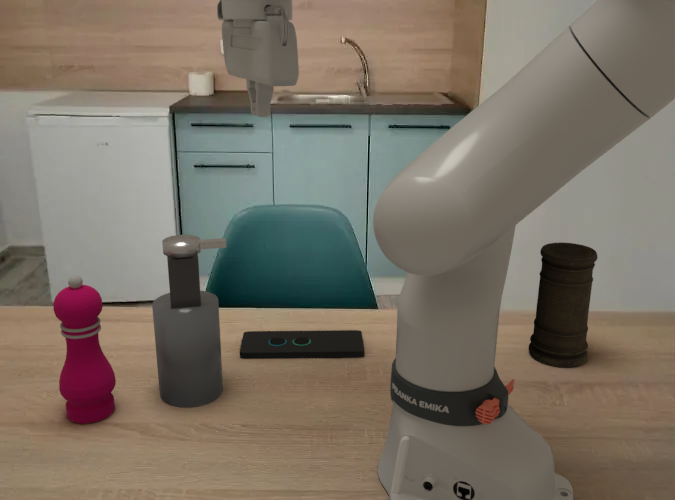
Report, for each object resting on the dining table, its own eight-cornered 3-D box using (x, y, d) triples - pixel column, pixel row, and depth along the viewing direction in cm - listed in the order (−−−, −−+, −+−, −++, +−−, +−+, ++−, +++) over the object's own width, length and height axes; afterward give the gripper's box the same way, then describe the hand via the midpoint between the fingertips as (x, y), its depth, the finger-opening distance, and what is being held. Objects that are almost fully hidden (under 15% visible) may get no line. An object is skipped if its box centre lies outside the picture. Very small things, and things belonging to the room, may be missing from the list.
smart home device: (243, 330, 118) (361, 328, 118) (244, 339, 118) (361, 338, 119) (238, 352, 110) (364, 350, 111) (239, 362, 110) (364, 360, 111)
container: (598, 362, 110) (613, 255, 104) (552, 372, 107) (564, 262, 101) (561, 339, 118) (573, 238, 112) (517, 347, 115) (527, 244, 109)
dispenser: (220, 372, 106) (213, 242, 99) (225, 403, 98) (218, 262, 91) (159, 379, 104) (148, 246, 97) (160, 411, 96) (147, 268, 89)
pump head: (226, 289, 100) (223, 232, 97) (229, 302, 95) (227, 242, 93) (166, 294, 98) (162, 236, 95) (167, 307, 93) (162, 247, 91)
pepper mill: (126, 399, 99) (113, 267, 92) (105, 427, 92) (89, 286, 85) (77, 396, 99) (61, 264, 93) (53, 424, 92) (33, 284, 86)
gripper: (311, 5, 81) (311, 125, 85) (256, 7, 98) (259, 106, 103) (259, 4, 78) (262, 127, 83) (213, 6, 96) (217, 107, 100)
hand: (260, 115), depth 93 cm, fingers closed
